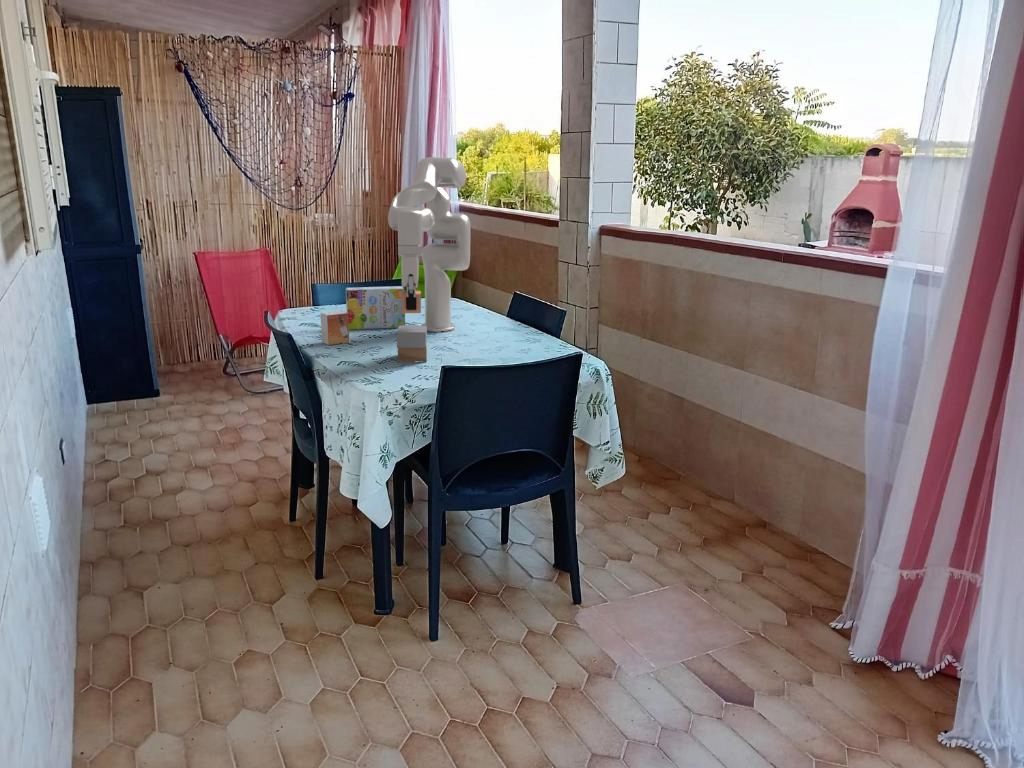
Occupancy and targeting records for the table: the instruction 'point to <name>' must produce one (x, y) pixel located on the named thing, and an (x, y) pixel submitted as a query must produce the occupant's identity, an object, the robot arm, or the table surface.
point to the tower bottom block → (412, 354)
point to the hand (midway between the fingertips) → (411, 307)
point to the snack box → (374, 307)
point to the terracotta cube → (418, 302)
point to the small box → (335, 327)
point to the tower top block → (411, 336)
